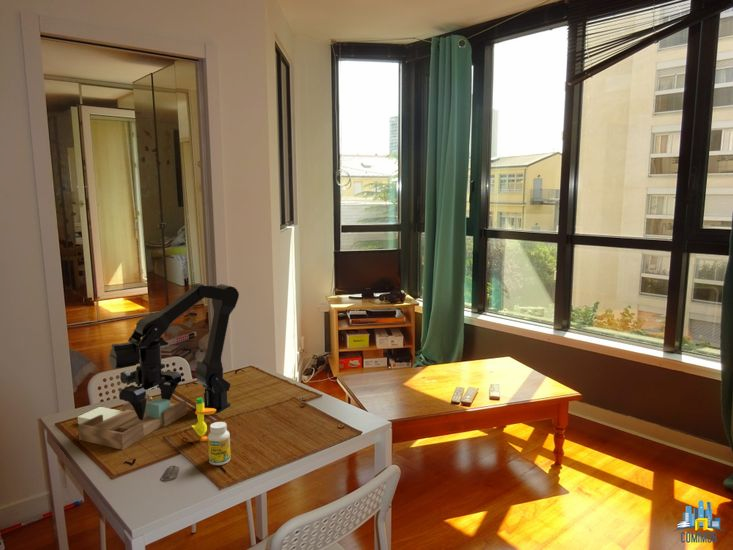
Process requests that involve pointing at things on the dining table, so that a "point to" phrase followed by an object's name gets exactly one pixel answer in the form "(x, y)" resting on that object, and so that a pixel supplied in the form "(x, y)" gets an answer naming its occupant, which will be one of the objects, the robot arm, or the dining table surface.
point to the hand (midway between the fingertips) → (153, 413)
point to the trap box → (127, 425)
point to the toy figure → (202, 418)
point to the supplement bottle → (219, 444)
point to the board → (96, 412)
